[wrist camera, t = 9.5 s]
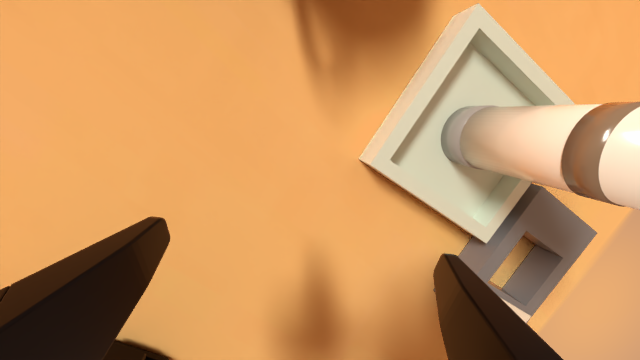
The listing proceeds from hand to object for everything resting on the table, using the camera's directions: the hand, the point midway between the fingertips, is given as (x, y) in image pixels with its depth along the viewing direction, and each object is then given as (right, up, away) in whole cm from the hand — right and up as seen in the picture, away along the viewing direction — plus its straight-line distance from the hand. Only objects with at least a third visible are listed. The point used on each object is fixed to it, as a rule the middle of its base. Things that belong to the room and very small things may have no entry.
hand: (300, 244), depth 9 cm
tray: (+12, +6, +13) cm, 18 cm away
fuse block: (+17, -5, +16) cm, 24 cm away
